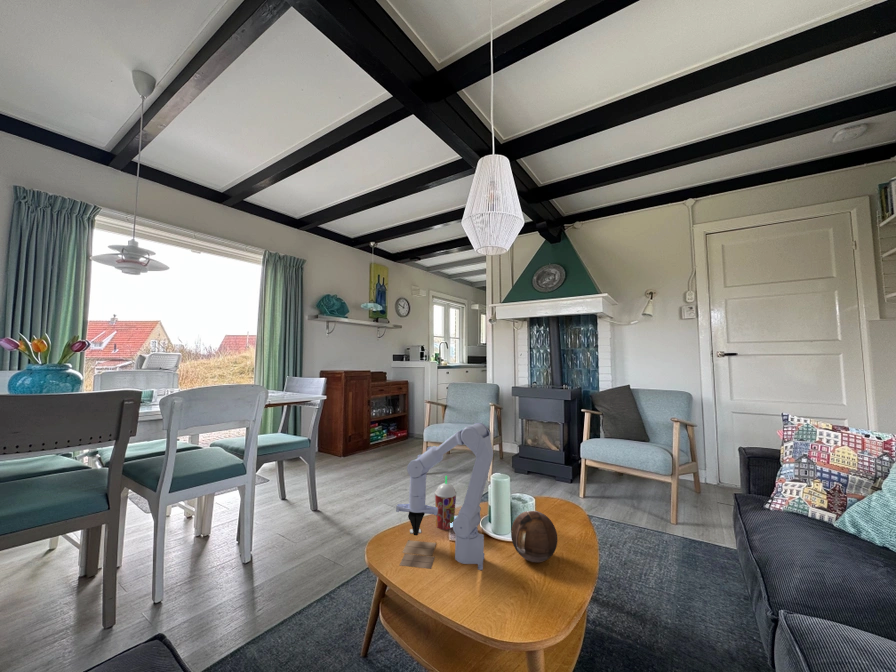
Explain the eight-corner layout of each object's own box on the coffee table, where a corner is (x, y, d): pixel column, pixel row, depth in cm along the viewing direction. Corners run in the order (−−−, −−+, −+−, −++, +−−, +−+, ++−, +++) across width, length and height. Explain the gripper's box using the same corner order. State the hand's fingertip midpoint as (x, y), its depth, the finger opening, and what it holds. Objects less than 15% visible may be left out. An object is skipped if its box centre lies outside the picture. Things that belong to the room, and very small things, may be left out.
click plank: (436, 546, 123) (436, 542, 123) (432, 559, 115) (432, 555, 115) (408, 543, 124) (408, 540, 124) (402, 556, 116) (402, 552, 116)
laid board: (434, 561, 114) (434, 556, 114) (431, 573, 108) (431, 568, 108) (404, 558, 116) (404, 553, 116) (399, 570, 109) (399, 565, 109)
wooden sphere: (539, 544, 127) (540, 501, 128) (567, 567, 113) (567, 519, 114) (502, 551, 122) (503, 506, 123) (526, 576, 108) (527, 525, 109)
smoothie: (455, 534, 132) (457, 480, 134) (433, 534, 132) (434, 479, 134) (455, 524, 141) (456, 473, 142) (434, 523, 141) (436, 472, 142)
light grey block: (420, 534, 132) (420, 528, 133) (420, 537, 130) (421, 532, 130) (409, 534, 132) (409, 529, 132) (409, 538, 129) (410, 532, 130)
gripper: (439, 491, 127) (438, 530, 126) (400, 488, 129) (398, 526, 128) (436, 498, 120) (435, 540, 119) (395, 495, 122) (393, 536, 121)
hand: (416, 534), depth 123 cm, fingers closed
